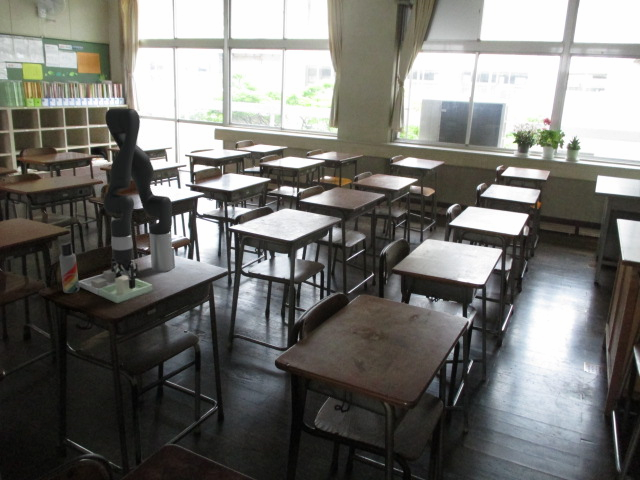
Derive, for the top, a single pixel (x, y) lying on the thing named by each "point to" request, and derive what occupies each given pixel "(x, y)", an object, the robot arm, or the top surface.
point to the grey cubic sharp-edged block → (109, 276)
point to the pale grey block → (99, 283)
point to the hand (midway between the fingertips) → (125, 285)
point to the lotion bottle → (68, 269)
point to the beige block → (122, 285)
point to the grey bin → (88, 286)
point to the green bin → (111, 293)
